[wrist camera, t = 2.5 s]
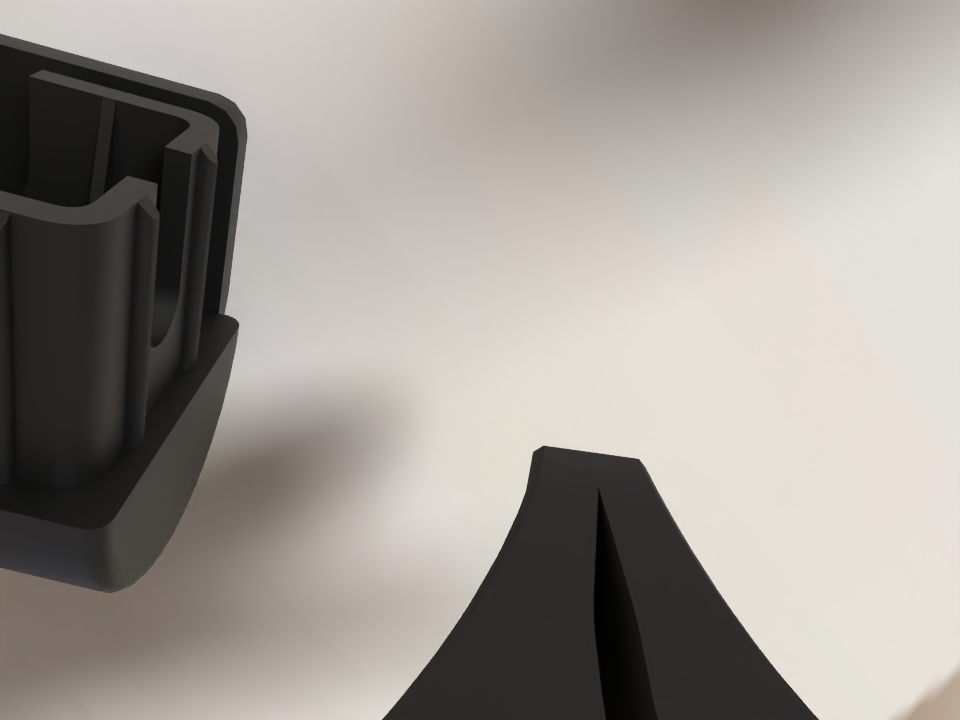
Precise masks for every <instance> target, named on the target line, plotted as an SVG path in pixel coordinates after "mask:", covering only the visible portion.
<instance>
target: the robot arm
mask: <svg viewBox="0 0 960 720" xmlns="http://www.w3.org/2000/svg"><path fill="white" fill-rule="evenodd" d="M382 720H819V719H818V718H817V717H816V716H815V715H814V714H813V713H812V712H811V710H810V709H809V708H808V707H807V706H806V705H805V703H804V702H803V701H802V700H801V699H800V698H799V696H798V695H797V694H796V693H795V692H794V691H793V689H792V688H791V687H790V686H789V685H788V684H787V682H786V681H785V680H784V679H783V678H782V677H781V675H780V674H779V673H778V672H777V670H776V669H775V668H774V667H773V665H772V664H771V663H770V662H769V660H768V659H767V658H766V656H765V655H764V654H763V653H762V651H761V650H760V649H759V647H758V646H757V645H756V644H755V642H754V641H753V639H752V638H751V637H750V635H749V634H748V633H747V631H746V630H745V628H744V627H743V626H742V624H741V623H740V622H739V620H738V619H737V617H736V616H735V615H734V613H733V612H732V610H731V609H730V608H729V606H728V605H727V603H726V602H725V600H724V599H723V597H722V596H721V594H720V593H719V592H718V590H717V589H716V587H715V585H714V584H713V582H712V581H711V579H710V578H709V576H708V575H707V573H706V571H705V570H704V568H703V567H702V565H701V564H700V562H699V561H698V559H697V557H696V556H695V554H694V553H693V551H692V550H691V548H690V546H689V545H688V543H687V541H686V540H685V538H684V536H683V535H682V533H681V531H680V530H679V528H678V526H677V524H676V523H675V521H674V519H673V517H672V516H671V514H670V512H669V510H668V509H667V507H666V505H665V503H664V501H663V500H662V498H661V496H660V494H659V492H658V491H657V489H656V487H655V485H654V483H653V481H652V479H651V477H650V475H649V474H648V472H647V470H646V468H645V466H644V465H643V464H642V462H641V461H640V460H639V459H635V458H628V457H621V456H614V455H607V454H599V453H592V452H585V451H578V450H571V449H563V448H556V447H549V446H542V447H541V448H539V449H537V450H535V451H534V452H533V456H532V462H531V467H530V473H529V478H528V483H527V489H526V493H525V496H524V498H523V501H522V504H521V506H520V509H519V511H518V514H517V516H516V518H515V520H514V522H513V525H512V527H511V529H510V531H509V533H508V535H507V538H506V540H505V542H504V544H503V546H502V548H501V550H500V552H499V554H498V556H497V558H496V560H495V561H494V563H493V565H492V567H491V568H490V570H489V572H488V573H487V575H486V577H485V579H484V580H483V582H482V584H481V586H480V587H479V589H478V591H477V593H476V594H475V596H474V598H473V599H472V601H471V603H470V604H469V606H468V607H467V609H466V610H465V612H464V613H463V615H462V617H461V618H460V620H459V621H458V623H457V624H456V625H455V627H454V628H453V630H452V631H451V633H450V634H449V636H448V637H447V638H446V640H445V641H444V643H443V644H442V645H441V647H440V648H439V650H438V651H437V652H436V654H435V655H434V656H433V658H432V659H431V660H430V662H429V663H428V664H427V665H426V667H425V668H424V669H423V671H422V672H421V673H420V674H419V676H418V677H417V678H416V679H415V681H414V682H413V683H412V685H411V686H410V687H409V688H408V690H407V691H406V692H405V693H404V695H403V696H402V697H401V698H400V699H399V701H398V702H397V703H396V704H395V705H394V707H393V708H392V709H391V710H390V711H389V712H388V714H387V715H386V716H385V717H384V718H383V719H382Z"/></svg>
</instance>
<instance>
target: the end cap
mask: <svg viewBox="0 0 960 720" xmlns="http://www.w3.org/2000/svg"><path fill="white" fill-rule="evenodd" d="M246 143H247V128H246V121H245V117H244V116H243V114H242V113H241V111H240V110H239V108H238V107H237V105H236V104H235V103H234V102H232V101H231V100H229V99H227V98H225V97H224V96H222V95H220V94H217V93H213V92H210V91H206V90H203V89H199V88H195V87H192V86H188V85H184V84H181V83H177V82H173V81H170V80H166V79H163V78H159V77H155V76H152V75H148V74H144V73H141V72H137V71H133V70H130V69H126V68H123V67H119V66H115V65H112V64H108V63H104V62H101V61H97V60H93V59H90V58H86V57H83V56H79V55H75V54H72V53H68V52H64V51H61V50H57V49H53V48H50V47H46V46H42V45H39V44H35V43H32V42H28V41H24V40H21V39H17V38H13V37H10V36H6V35H2V34H0V568H4V569H8V570H12V571H17V572H21V573H25V574H29V575H34V576H38V577H42V578H46V579H50V580H55V581H59V582H63V583H67V584H72V585H76V586H80V587H84V588H89V589H93V590H97V591H101V592H108V593H112V592H116V591H119V590H121V589H124V588H126V587H129V586H130V585H132V584H134V583H135V582H136V581H137V580H138V579H139V578H140V577H142V576H143V575H144V574H145V573H146V572H147V571H148V570H149V568H150V567H151V566H152V564H153V563H154V562H155V561H156V559H157V558H158V557H159V555H160V554H161V553H162V551H163V549H164V548H165V546H166V544H167V543H168V541H169V539H170V538H171V536H172V534H173V533H174V531H175V529H176V527H177V525H178V523H179V521H180V519H181V517H182V515H183V513H184V511H185V509H186V506H187V504H188V502H189V499H190V497H191V495H192V493H193V490H194V488H195V486H196V483H197V481H198V478H199V475H200V473H201V470H202V468H203V465H204V462H205V460H206V457H207V454H208V451H209V448H210V445H211V442H212V439H213V436H214V433H215V430H216V426H217V423H218V419H219V416H220V413H221V409H222V406H223V402H224V398H225V394H226V390H227V386H228V382H229V378H230V373H231V368H232V363H233V359H234V354H235V348H236V342H237V336H238V329H239V323H238V321H237V320H236V319H234V318H232V317H230V316H227V315H224V313H225V308H226V303H227V297H228V292H229V284H230V275H231V267H232V259H233V251H234V242H235V234H236V226H237V218H238V209H239V201H240V193H241V185H242V176H243V168H244V160H245V152H246Z"/></svg>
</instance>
